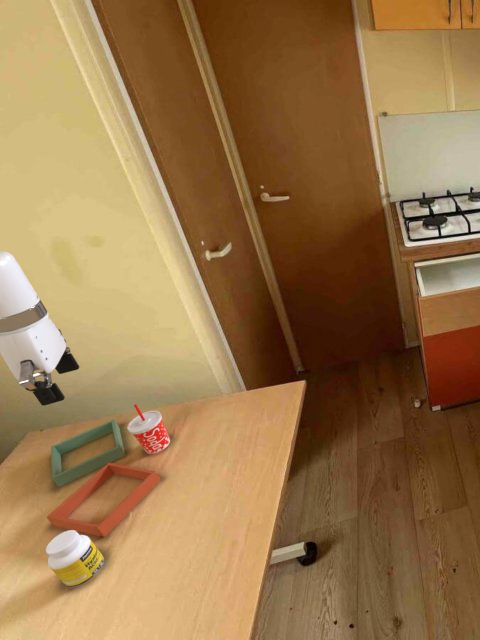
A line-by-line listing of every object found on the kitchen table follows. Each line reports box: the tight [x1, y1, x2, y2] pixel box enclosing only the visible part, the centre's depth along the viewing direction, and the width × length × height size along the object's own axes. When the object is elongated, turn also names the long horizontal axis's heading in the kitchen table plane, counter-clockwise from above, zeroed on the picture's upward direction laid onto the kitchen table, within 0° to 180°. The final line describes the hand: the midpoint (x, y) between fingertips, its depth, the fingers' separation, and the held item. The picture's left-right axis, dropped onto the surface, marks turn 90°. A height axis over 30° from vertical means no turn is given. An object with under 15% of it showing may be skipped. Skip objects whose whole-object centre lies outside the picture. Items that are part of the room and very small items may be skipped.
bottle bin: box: [50, 418, 126, 488], centre depth 97 cm, size 11×11×4 cm
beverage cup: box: [126, 403, 171, 455], centre depth 97 cm, size 6×6×14 cm
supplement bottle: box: [45, 529, 105, 588], centre depth 75 cm, size 5×5×10 cm
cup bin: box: [46, 462, 161, 538], centre depth 88 cm, size 12×12×4 cm
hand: (62, 385), depth 85 cm, fingers open, 9 cm apart
